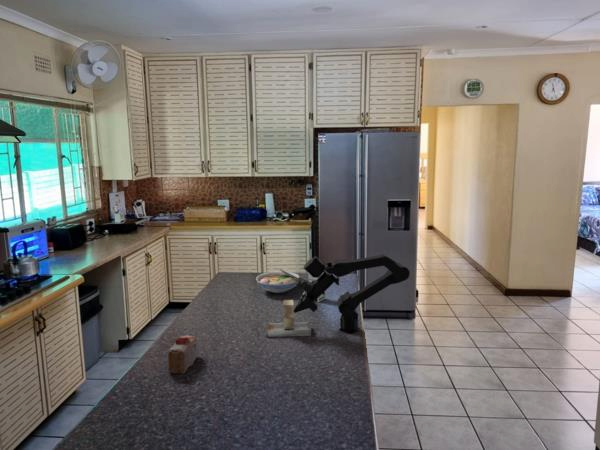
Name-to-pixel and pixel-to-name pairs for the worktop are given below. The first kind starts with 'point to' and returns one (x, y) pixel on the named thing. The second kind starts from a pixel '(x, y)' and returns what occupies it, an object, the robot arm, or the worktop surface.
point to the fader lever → (288, 314)
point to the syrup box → (315, 280)
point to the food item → (182, 354)
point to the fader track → (279, 331)
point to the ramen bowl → (277, 281)
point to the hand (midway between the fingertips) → (294, 311)
